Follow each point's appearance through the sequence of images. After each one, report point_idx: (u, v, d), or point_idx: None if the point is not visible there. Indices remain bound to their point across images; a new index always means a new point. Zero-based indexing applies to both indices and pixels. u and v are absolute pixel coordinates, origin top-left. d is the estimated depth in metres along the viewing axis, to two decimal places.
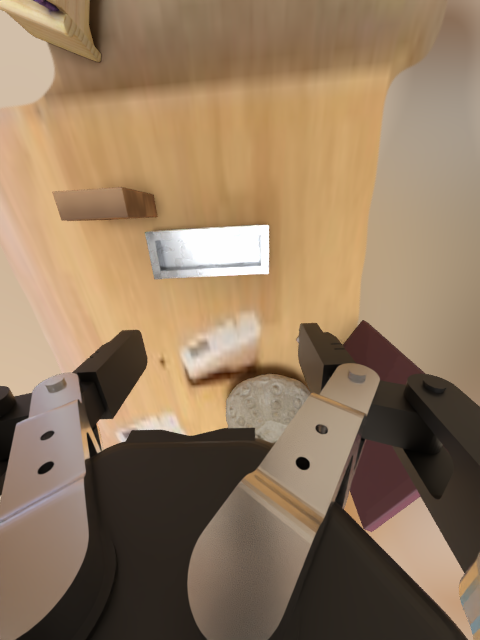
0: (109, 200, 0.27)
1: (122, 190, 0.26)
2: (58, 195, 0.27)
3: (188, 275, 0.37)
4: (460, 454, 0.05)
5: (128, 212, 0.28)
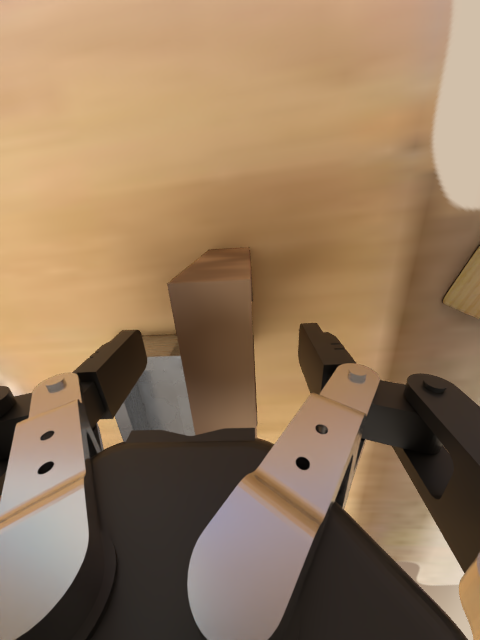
0: (229, 413, 0.11)
1: None
2: (238, 296, 0.09)
3: (117, 413, 0.20)
4: (460, 454, 0.05)
5: None
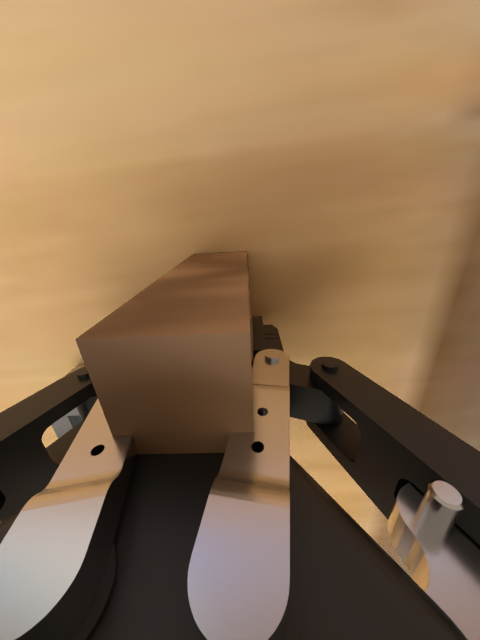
0: None
1: None
2: (225, 364, 0.04)
3: None
4: (363, 420, 0.06)
5: None
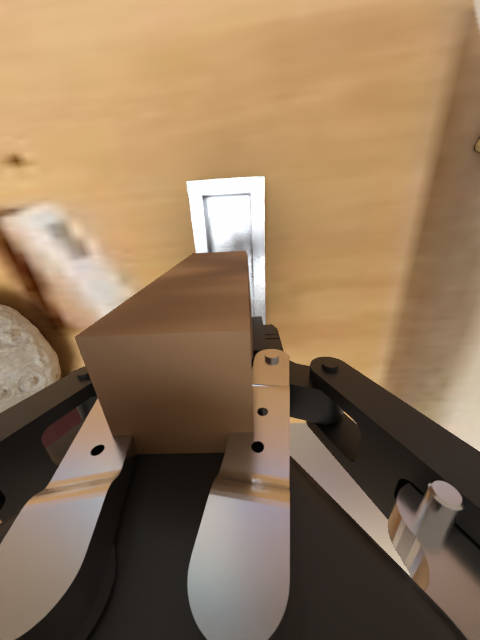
0: None
1: None
2: (225, 362, 0.04)
3: (197, 244, 0.23)
4: (363, 419, 0.06)
5: None
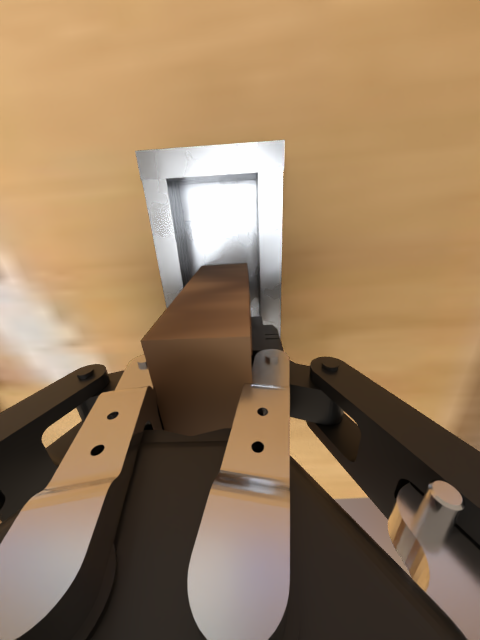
0: None
1: None
2: (234, 356, 0.07)
3: (163, 267, 0.13)
4: (363, 420, 0.06)
5: None
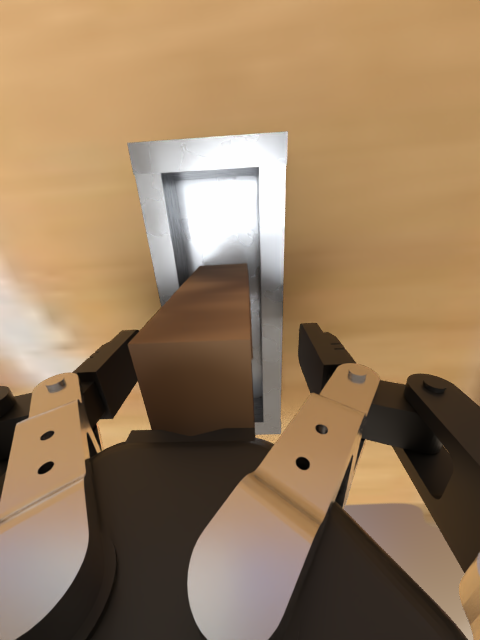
0: None
1: None
2: (232, 361, 0.06)
3: (158, 267, 0.12)
4: (460, 454, 0.05)
5: None
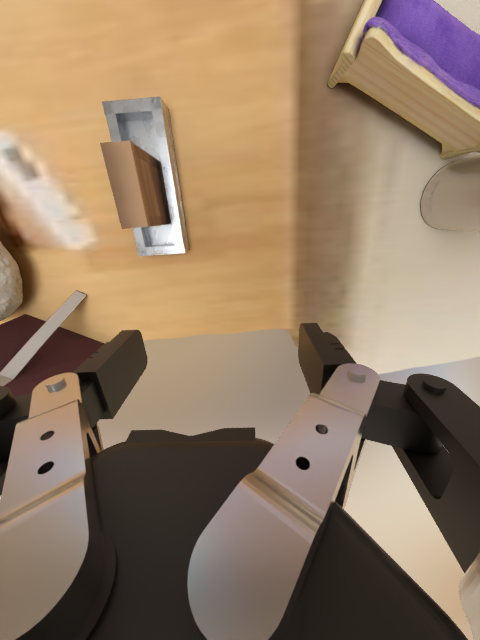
0: (133, 210, 0.26)
1: (145, 226, 0.27)
2: (126, 148, 0.24)
3: None
4: (460, 454, 0.05)
5: None
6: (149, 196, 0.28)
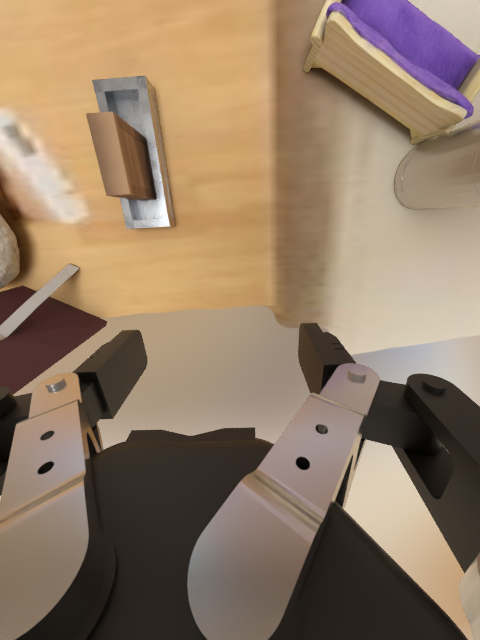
0: (116, 178, 0.28)
1: (128, 193, 0.29)
2: (110, 118, 0.26)
3: None
4: (460, 454, 0.05)
5: (111, 195, 0.29)
6: (133, 167, 0.30)
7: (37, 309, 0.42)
